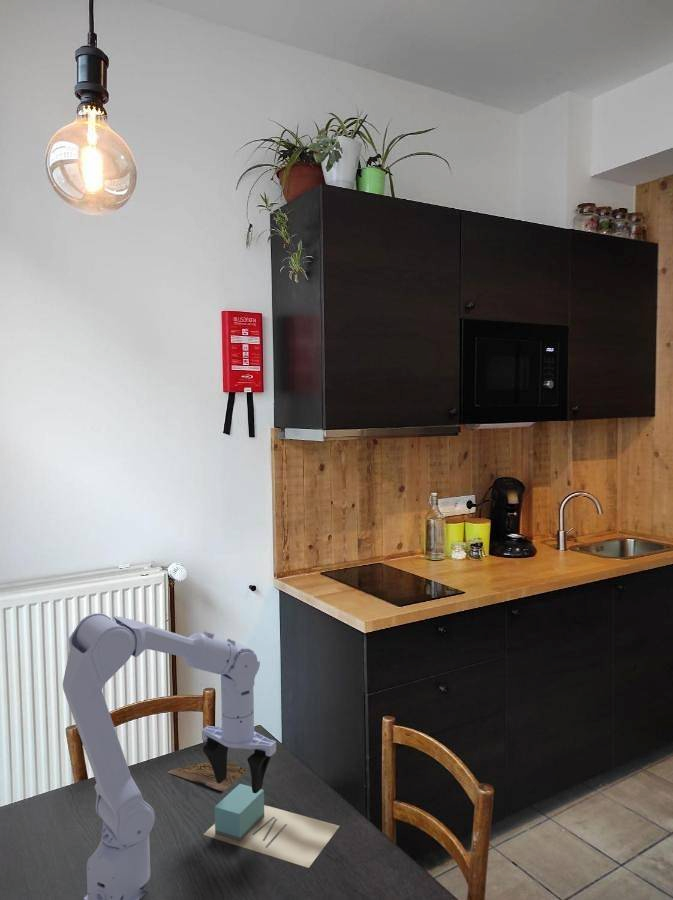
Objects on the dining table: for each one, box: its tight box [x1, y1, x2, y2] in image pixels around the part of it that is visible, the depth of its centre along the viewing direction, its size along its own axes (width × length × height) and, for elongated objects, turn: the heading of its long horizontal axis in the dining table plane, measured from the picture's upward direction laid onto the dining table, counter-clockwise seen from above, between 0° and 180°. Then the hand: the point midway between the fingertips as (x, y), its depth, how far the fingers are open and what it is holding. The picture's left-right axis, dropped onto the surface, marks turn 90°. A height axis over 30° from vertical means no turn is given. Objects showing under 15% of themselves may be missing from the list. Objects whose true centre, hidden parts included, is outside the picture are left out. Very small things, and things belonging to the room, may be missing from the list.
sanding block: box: [214, 783, 265, 842], centre depth 120 cm, size 8×5×5 cm, turn 155°
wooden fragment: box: [167, 761, 249, 793], centre depth 138 cm, size 26×11×1 cm, turn 72°
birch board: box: [202, 804, 341, 869], centre depth 119 cm, size 12×21×2 cm, turn 65°
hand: (239, 785), depth 120 cm, fingers open, 7 cm apart
